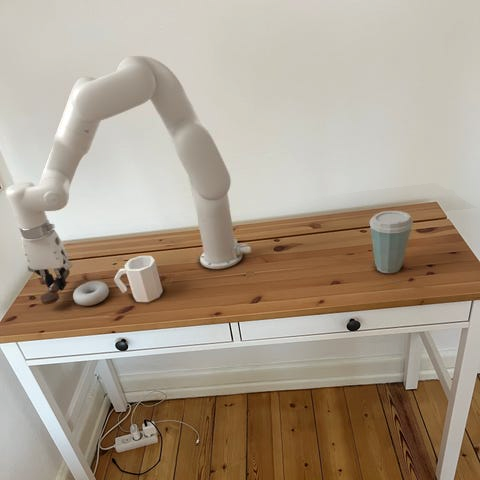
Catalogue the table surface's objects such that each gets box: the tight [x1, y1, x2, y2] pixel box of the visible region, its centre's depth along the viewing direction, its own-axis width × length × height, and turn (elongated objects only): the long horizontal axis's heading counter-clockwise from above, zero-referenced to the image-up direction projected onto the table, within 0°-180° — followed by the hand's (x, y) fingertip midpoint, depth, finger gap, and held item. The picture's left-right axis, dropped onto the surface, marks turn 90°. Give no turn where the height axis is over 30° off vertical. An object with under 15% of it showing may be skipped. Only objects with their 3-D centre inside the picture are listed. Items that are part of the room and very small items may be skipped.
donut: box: [72, 280, 110, 307], centre depth 150 cm, size 10×4×10 cm
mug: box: [113, 255, 163, 303], centre depth 146 cm, size 12×9×10 cm
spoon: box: [40, 269, 70, 305], centre depth 152 cm, size 16×5×2 cm, turn 175°
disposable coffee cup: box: [369, 210, 414, 274], centre depth 139 cm, size 11×11×15 cm
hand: (58, 287), depth 152 cm, fingers closed on spoon, 2 cm apart
